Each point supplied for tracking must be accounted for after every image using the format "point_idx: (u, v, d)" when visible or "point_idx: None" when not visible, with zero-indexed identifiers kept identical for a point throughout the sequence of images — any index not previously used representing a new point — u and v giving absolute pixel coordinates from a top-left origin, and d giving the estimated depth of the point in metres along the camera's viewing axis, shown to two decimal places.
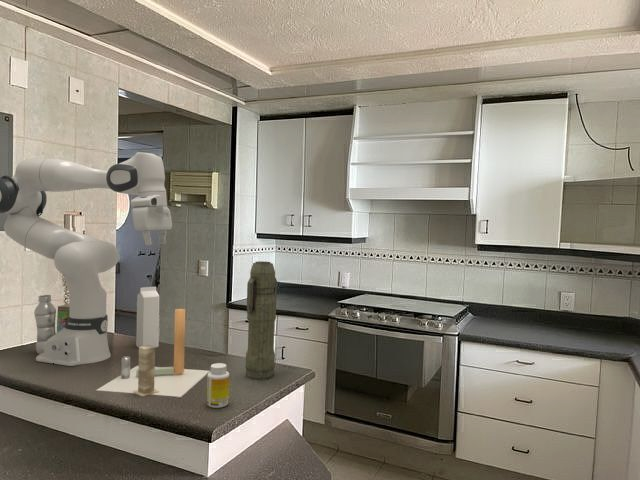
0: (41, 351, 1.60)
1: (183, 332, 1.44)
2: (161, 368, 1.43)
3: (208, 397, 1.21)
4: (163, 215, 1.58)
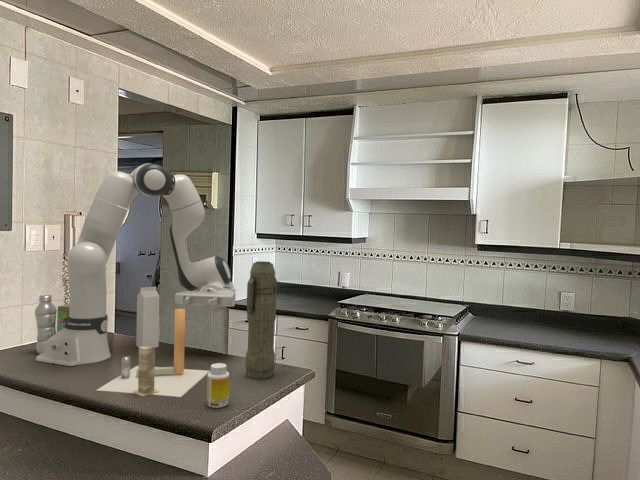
0: (40, 351, 1.60)
1: (183, 332, 1.44)
2: (161, 368, 1.43)
3: (208, 397, 1.21)
4: None
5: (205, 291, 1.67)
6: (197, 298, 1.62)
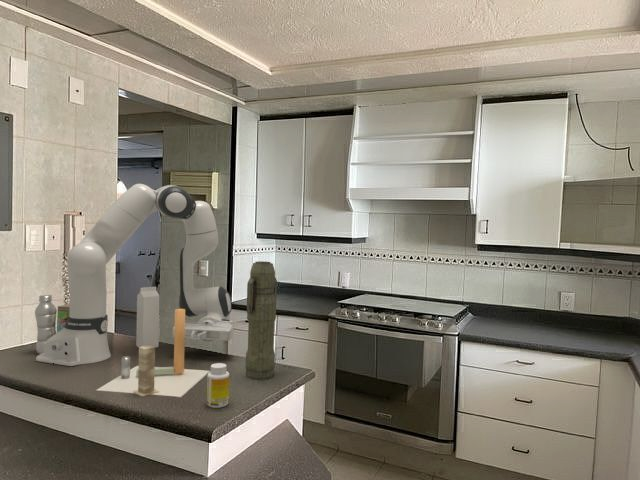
0: (40, 351, 1.60)
1: (183, 332, 1.44)
2: (161, 368, 1.43)
3: (208, 397, 1.21)
4: None
5: (203, 324, 1.66)
6: None
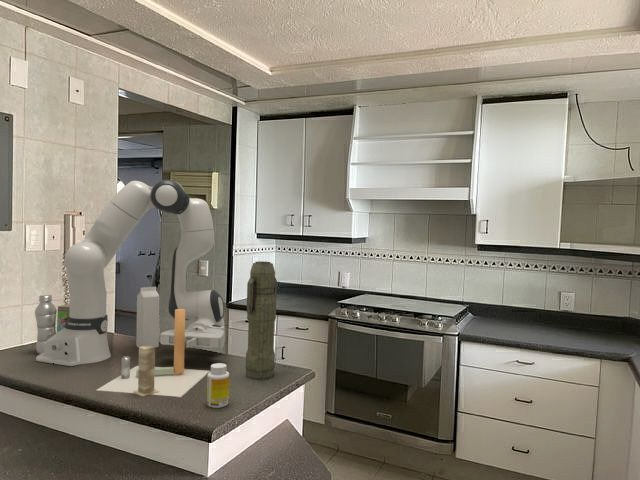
0: (40, 351, 1.60)
1: (183, 332, 1.44)
2: (161, 368, 1.43)
3: (208, 397, 1.21)
4: None
5: (193, 330, 1.57)
6: None
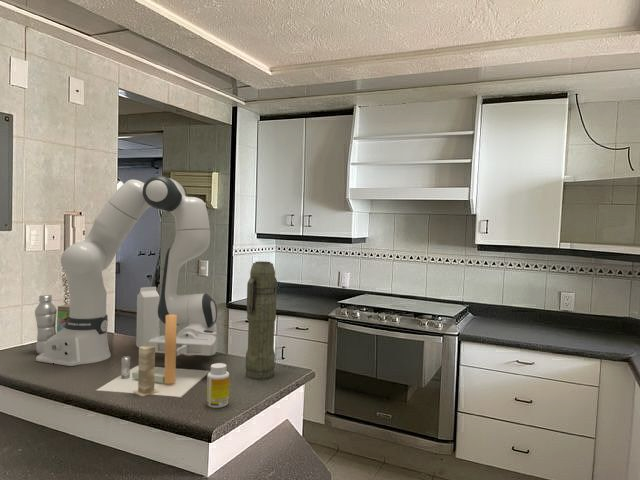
0: (40, 351, 1.60)
1: (172, 340, 1.34)
2: None
3: (208, 397, 1.21)
4: None
5: (183, 336, 1.48)
6: None
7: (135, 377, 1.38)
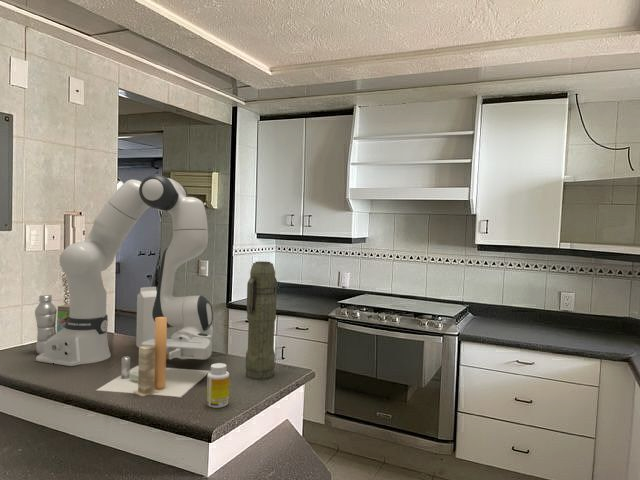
0: (40, 351, 1.60)
1: (160, 343, 1.31)
2: None
3: (208, 397, 1.21)
4: None
5: (176, 339, 1.44)
6: None
7: (131, 378, 1.37)
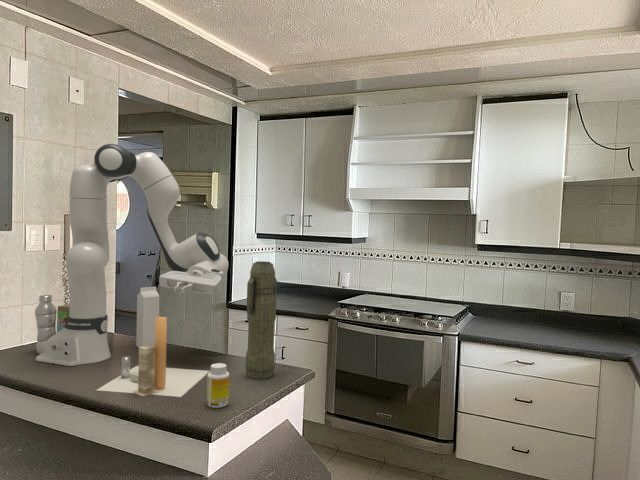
0: (40, 351, 1.60)
1: (160, 343, 1.31)
2: None
3: (208, 397, 1.21)
4: None
5: (191, 273, 1.57)
6: None
7: (131, 378, 1.37)
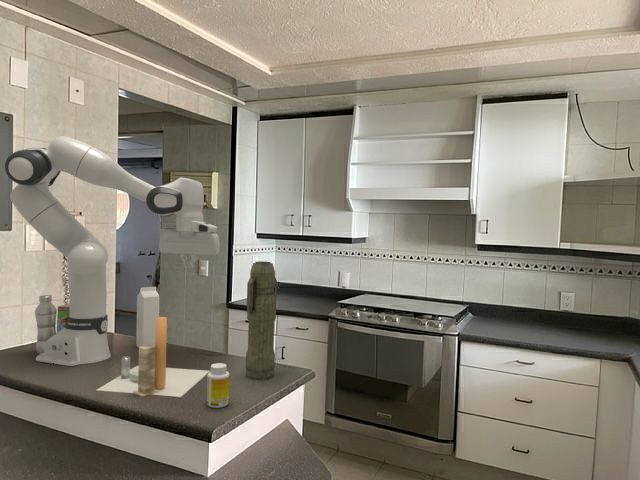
0: (40, 351, 1.60)
1: (160, 343, 1.31)
2: None
3: (208, 397, 1.21)
4: None
5: (183, 236, 1.58)
6: None
7: (131, 378, 1.37)
